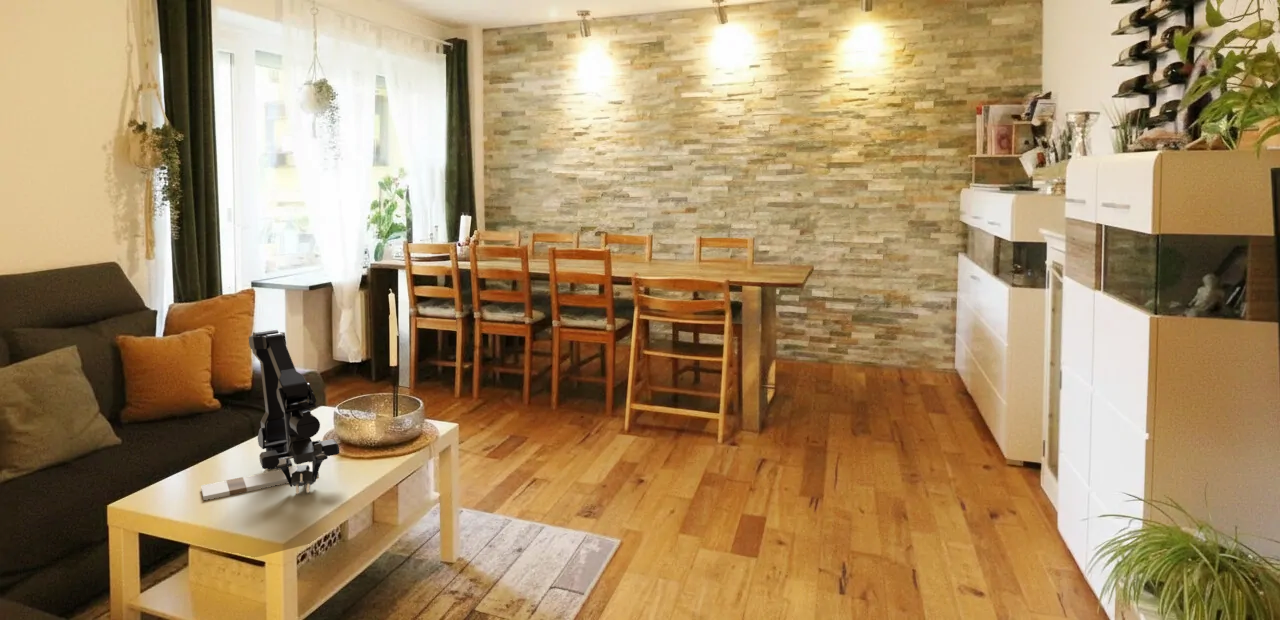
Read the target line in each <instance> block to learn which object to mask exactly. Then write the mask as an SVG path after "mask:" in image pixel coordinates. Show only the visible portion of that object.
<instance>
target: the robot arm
mask: <svg viewBox="0 0 1280 620" xmlns="http://www.w3.org/2000/svg"><path fill="white" fill-rule="evenodd" d="M248 344H249V347H250V349H251V351H252V354H253V356H255V358H256V359H257V360H258V361H259V364H260V373H261V380H262V390H263V391H262V392H263V398H264V399H263V400H264V406H265V407H264V409H265V412H264V414H263V416H262V417H261V420H260V428H259V430H258V435H257V444H258V447H260V448H261V450H265V451H261V452H260V454H259V463H260V465H261V467H262V469H265V470H266V469H267V470H272V469H276V470H282V471H283V473H284V474H285V476H286V478H287V480H288V482H289V483H288V484H289V487H290V488H293V485H291V476H290V472H289V468H290V466H292V465H293V463H294V464H295V465H301V464H302V465H303V464H304V463H305V464H306V463H312V472H313V474H314V477H315V483H316V481H317V478H318V477H317V475H318V472H319V470H320V468H321V465H322V463H323V462H324V461H325V460H328V457H330V456H331V457H332V456H336V455H339V454H340V445H339V443H337V441H336V440H335V439H333V438H331V439H326V440H313V441H312V437H314V436H316V435H317V434H318V433H319V431H320V428H321V422H320V421H319V419H318V418H317V417H316V416H315V415H313V414H312V413H311V409H313V408H316V407H317V405H316V403H317V399H316V396H315V392H314V390H313V387H312V386H311V385H310V383H309V382H307V379H306V378H305V375H303V374H302V373H300V372H298V371H297V369H296V368H295V367H296V366H295V365H294V363H293V359H292V357H291V355H290V352H289V349H288V347H287V341H286V332H284V331H282V332H279V331H278V329H277V328H275V329H274V328H273V329H267V330H260V331H259V330H258V331H253V332H252V334H251V335H250V336H249V337H248ZM291 459H293V462H292V461H291Z"/></svg>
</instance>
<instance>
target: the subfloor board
mask: <svg viewBox="0 0 1280 620" xmlns="http://www.w3.org/2000/svg"><path fill="white" fill-rule="evenodd" d="M305 465H308V466H309V467H310V471H312V462H310V463H305ZM297 466H298V465H296V466H292V467H289V472H290V476H291V477H292V473H294V472H295V471H296V470H297ZM319 474H320V473H319V471H318V475H317V476H320V475H319ZM285 483H286V484H289V482H288V480H287V478H286V476H285V474H284V473H283V471H282V470H281V469H276V470H272V471H268V472H267V471H266V472H263V473H262V472H261V473H257V474H252V475H246V476H241V477H237V478H232V479H226V480H222V481H217V482H210V483H208V484H207V483H205V484H202V485H200V487H201V489H200V490H201V495H202V499H203V501H204V500H206V501H209V500H208V499H210V500H214V498H215V499H219V497H220V498H224V497H229V496H234V495H239V494H242V493H247V492H253V491H257V490H262V489H266V488H265V487H267V488H271V486H272V487H276V486H275V485H277V486H280V484H281V485H286V484H285ZM261 488H262V489H261Z"/></svg>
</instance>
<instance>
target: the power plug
mask: <svg viewBox="0 0 1280 620" xmlns="http://www.w3.org/2000/svg"><path fill="white" fill-rule="evenodd" d="M296 466H297V470H296V471H295V472H294V473H292V477H291V485H292V487H293V486H294V487H295V494H296V495H299V494H300V487H304V486H306V489H305V490H306V492H305V493H306V494H309V493H310V486H312V485H314V484H315V483H316V482H315V477H314V474H313V472H312V471H310V467H309V466H308V465H306V464H302V465H301V464H299V465H296Z"/></svg>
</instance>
